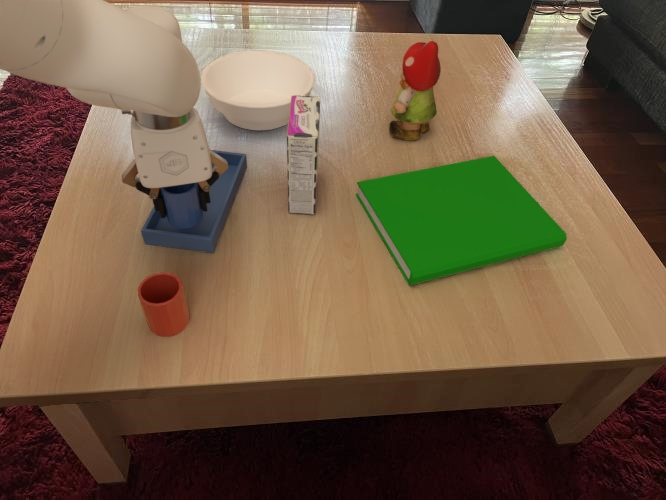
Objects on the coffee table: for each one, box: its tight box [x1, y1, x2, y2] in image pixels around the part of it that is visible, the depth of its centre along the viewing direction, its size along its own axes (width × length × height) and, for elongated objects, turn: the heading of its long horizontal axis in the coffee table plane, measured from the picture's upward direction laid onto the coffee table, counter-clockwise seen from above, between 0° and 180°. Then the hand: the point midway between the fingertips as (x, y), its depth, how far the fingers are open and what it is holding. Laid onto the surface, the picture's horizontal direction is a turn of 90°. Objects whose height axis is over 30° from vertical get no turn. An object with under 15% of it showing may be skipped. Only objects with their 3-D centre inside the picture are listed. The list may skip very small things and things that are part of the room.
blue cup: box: [160, 182, 203, 229], centre depth 81 cm, size 6×6×7 cm
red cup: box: [136, 271, 190, 338], centre depth 71 cm, size 6×6×7 cm
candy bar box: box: [286, 95, 321, 216], centre depth 87 cm, size 11×5×16 cm, turn 179°
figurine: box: [388, 40, 442, 141], centre depth 101 cm, size 11×9×20 cm
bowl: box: [200, 49, 316, 131], centre depth 107 cm, size 22×22×8 cm
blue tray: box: [140, 149, 248, 254], centre depth 89 cm, size 22×11×3 cm, turn 173°
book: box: [355, 155, 568, 286], centre depth 90 cm, size 22×28×3 cm
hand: (183, 208), depth 82 cm, fingers closed on blue cup, 5 cm apart
